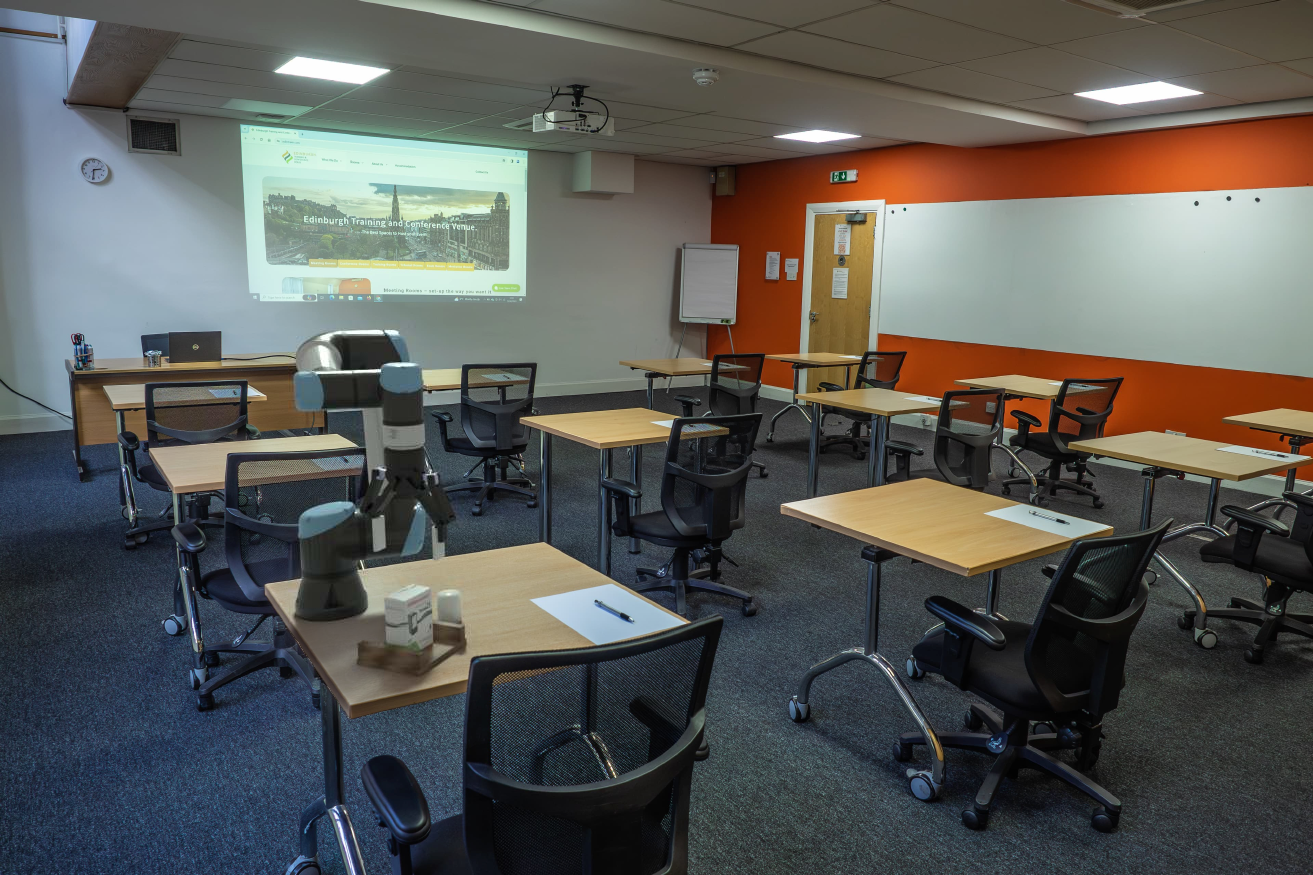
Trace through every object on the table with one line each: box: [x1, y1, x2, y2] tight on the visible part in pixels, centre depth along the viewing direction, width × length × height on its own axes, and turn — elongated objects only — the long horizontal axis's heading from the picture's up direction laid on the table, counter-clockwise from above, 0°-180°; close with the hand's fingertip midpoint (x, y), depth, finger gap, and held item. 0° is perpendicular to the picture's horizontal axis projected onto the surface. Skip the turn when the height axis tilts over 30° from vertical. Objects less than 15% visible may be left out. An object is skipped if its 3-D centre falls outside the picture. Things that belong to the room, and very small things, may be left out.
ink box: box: [383, 583, 433, 651], centre depth 164 cm, size 9×5×12 cm, turn 158°
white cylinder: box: [436, 589, 463, 624], centre depth 181 cm, size 5×5×6 cm
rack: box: [356, 619, 468, 677], centre depth 165 cm, size 14×16×4 cm
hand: (408, 553), depth 162 cm, fingers open, 13 cm apart
